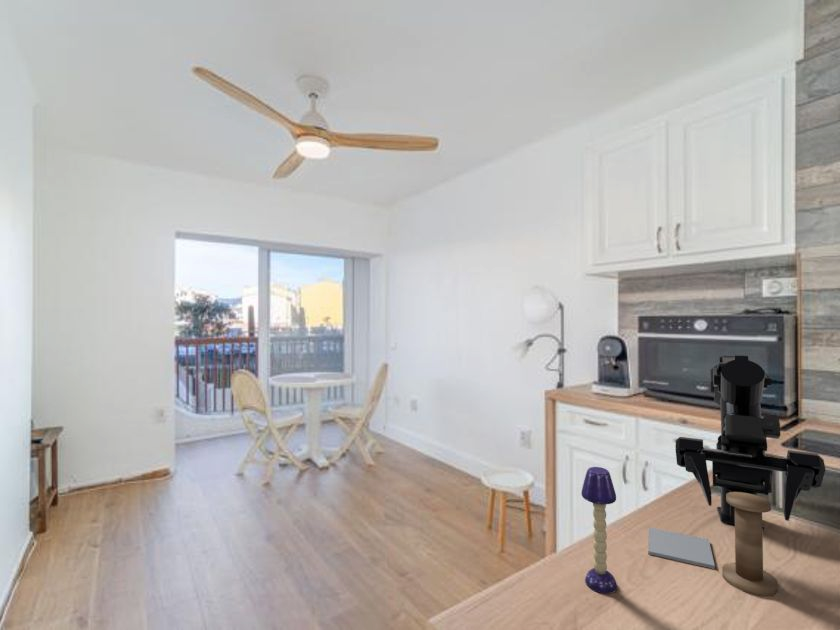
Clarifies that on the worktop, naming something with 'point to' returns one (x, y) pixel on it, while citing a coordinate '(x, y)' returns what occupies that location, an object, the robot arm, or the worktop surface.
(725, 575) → the walnut stool
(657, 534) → the grey mat
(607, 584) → the toy lamp
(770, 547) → the worktop surface
